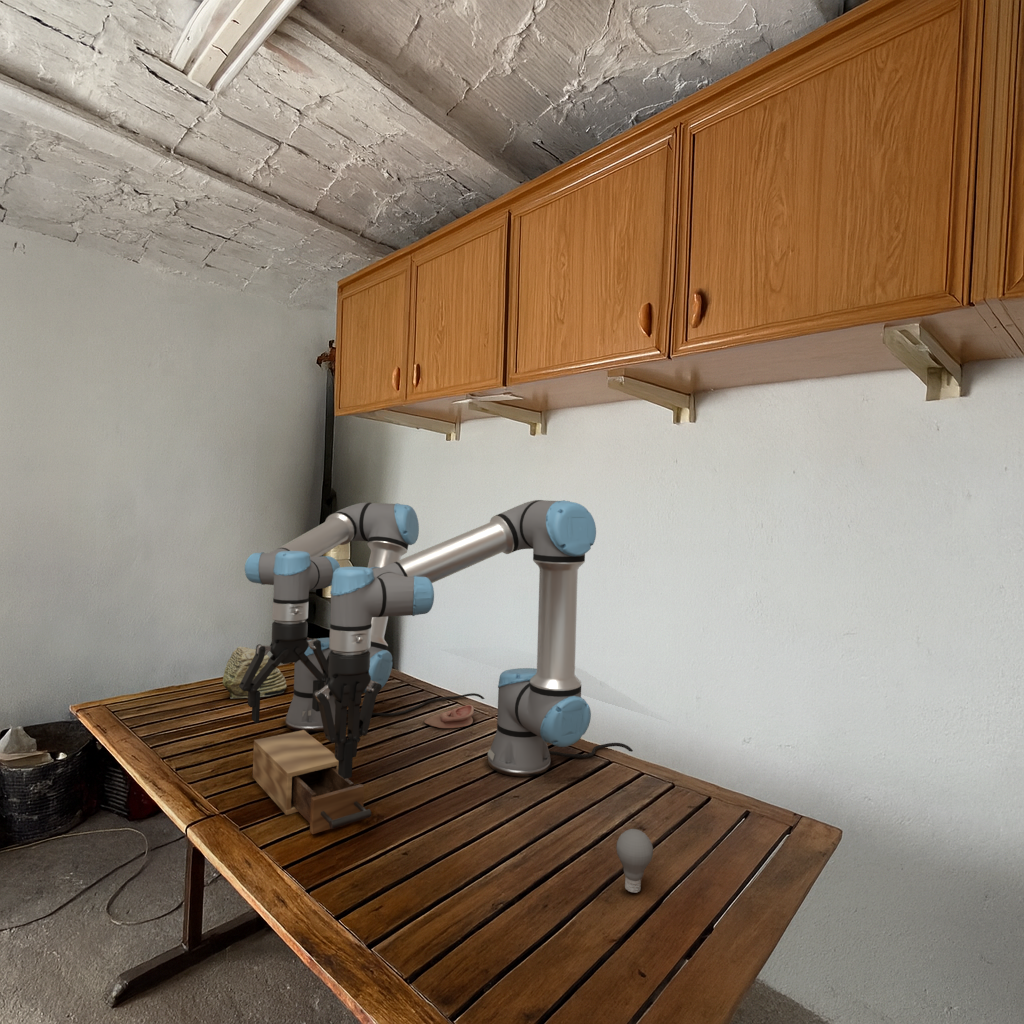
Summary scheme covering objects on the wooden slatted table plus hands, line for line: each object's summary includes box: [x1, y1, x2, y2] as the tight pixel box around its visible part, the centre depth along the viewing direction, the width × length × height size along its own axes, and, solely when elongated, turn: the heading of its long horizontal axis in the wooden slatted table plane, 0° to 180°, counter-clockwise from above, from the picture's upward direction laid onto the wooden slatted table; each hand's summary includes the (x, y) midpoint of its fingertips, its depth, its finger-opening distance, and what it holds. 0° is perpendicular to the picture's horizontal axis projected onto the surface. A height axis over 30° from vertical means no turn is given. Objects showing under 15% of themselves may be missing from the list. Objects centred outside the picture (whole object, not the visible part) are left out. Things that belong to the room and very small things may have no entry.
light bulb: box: [615, 828, 654, 894], centre depth 106 cm, size 6×6×10 cm
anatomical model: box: [424, 704, 475, 729], centre depth 181 cm, size 13×4×12 cm
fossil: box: [222, 646, 288, 699], centre depth 198 cm, size 9×18×15 cm, turn 132°
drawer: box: [291, 767, 372, 835], centre depth 126 cm, size 25×10×6 cm, turn 40°
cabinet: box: [252, 730, 339, 816], centre depth 137 cm, size 20×11×8 cm, turn 40°
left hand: (286, 715), depth 142 cm, fingers open, 13 cm apart
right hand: (344, 775), depth 119 cm, fingers closed
